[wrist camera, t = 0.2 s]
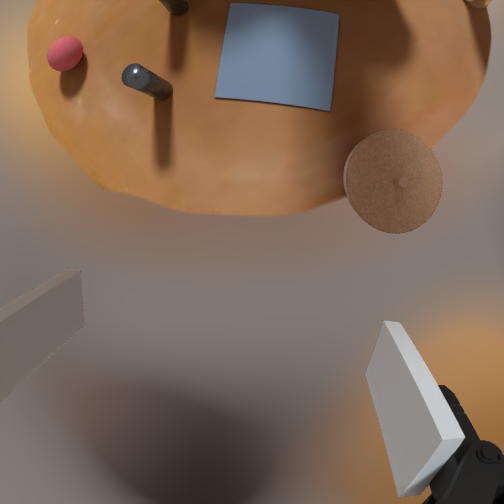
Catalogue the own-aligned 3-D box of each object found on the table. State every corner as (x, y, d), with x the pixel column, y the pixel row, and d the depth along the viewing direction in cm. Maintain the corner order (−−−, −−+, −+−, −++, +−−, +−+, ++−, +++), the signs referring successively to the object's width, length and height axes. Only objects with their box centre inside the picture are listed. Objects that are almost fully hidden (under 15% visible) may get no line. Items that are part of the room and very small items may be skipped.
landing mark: (230, 3, 32) (230, 2, 32) (339, 14, 31) (339, 14, 31) (215, 97, 36) (214, 97, 36) (330, 111, 35) (330, 111, 35)
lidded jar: (405, 128, 34) (437, 120, 25) (422, 211, 37) (456, 224, 28) (325, 143, 36) (338, 137, 27) (345, 228, 39) (362, 248, 30)
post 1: (155, 81, 36) (123, 64, 27) (174, 81, 36) (145, 62, 27) (152, 100, 37) (119, 86, 28) (171, 100, 36) (141, 85, 28)
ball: (66, 44, 35) (44, 35, 30) (93, 39, 35) (72, 28, 29) (59, 76, 36) (36, 70, 31) (85, 72, 36) (64, 64, 31)
